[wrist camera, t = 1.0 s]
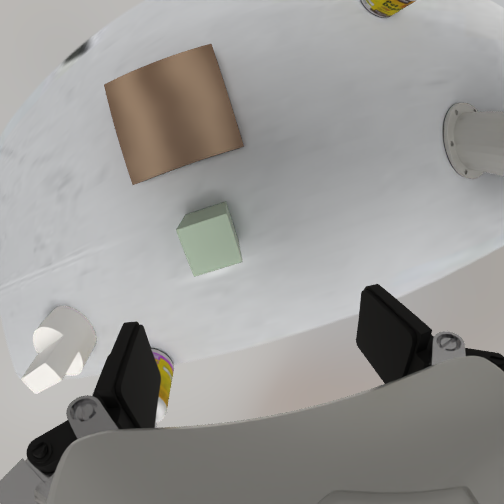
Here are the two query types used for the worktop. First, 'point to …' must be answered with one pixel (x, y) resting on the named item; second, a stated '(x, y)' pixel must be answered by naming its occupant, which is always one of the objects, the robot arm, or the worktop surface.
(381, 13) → the supplement bottle
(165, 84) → the walnut base
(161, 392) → the supplement bottle
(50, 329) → the base with upright slab
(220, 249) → the sage block
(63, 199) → the worktop surface
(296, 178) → the worktop surface
